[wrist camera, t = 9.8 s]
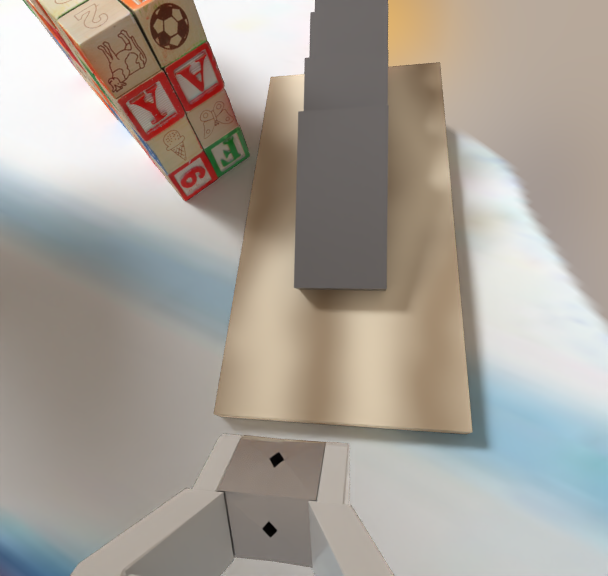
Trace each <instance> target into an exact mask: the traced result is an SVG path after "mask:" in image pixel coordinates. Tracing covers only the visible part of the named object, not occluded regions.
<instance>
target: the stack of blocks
mask: <svg viewBox="0 0 608 576" xmlns="http://www.w3.org/2000/svg"><path fill="white" fill-rule="evenodd" d="M23 1H24V3H25V4H26V5H27V6H28V8H29V9H30V10H31V11H32V12H33V13H34V15H35V16H36V17H37V18H38V19H39V21H40V22H41V23H42V25H43V26H44V27H45V29H46V30H47V31H48V33H49V34H50V35H51V37H52V38H53V39H54V41H55V42H56V43H57V45H58V46H59V47H60V48H61V50H62V51H63V52H64V53H65V54H66V56H67V57H68V59H69V60H70V61H71V63H72V64H73V65H74V67H75V68H76V69H77V71H78V72H79V73H80V75H81V76H82V77H83V78H84V79H85V81H86V82H87V83H88V85H89V86H90V87H91V89H92V90H93V91H94V92H95V93H96V95H97V96H98V97H99V98H100V99H101V100H102V102H103V103H104V104H105V105H106V107H107V108H108V109H109V110H110V111H111V113H112V114H113V115H114V116H115V117H116V119H117V120H119V121H120V122H121V123H122V124H123V126H124V127H125V128H126V129H127V130H128V132H129V133H130V134H131V135H132V136H133V137H134V139H135V140H136V141H137V142H138V143H139V145H140V146H141V147H142V148H143V149H144V151H145V152H146V153H147V155H148V156H149V158H150V159H151V160H152V161H153V163H154V164H155V165H156V166H157V167H158V169H159V170H160V171H161V172H162V174H163V175H164V176H165V178H166V179H167V180H168V182H169V183H170V184H171V185H172V186H173V188H174V189H175V190H176V191H177V193H178V194H179V195H180V196H181V197H182V199H183V200H184V201H187V200H189V199H190V198H191V197H193V196H194V195H196V194H197V193H199V192H200V191H201V190H203V189H204V188H206V187H207V186H208V185H210V184H211V183H213V182H214V181H215V180H217V179H218V178H219V177H220V176H222V175H223V174H224V173H226V172H227V171H229V170H230V169H232V168H233V167H235V166H236V165H237V164H239V163H240V162H242V161H243V160H244V159H246V158H247V157H249V156H250V153H249V151H248V148H247V145H246V142H245V139H244V136H243V133H242V130H241V127H240V125H239V124H238V123H237V120H236V118H235V115H234V112H233V109H232V106H231V103H230V100H229V98H228V96H227V93H226V91H225V89H224V81H223V79H222V76H221V73H220V71H219V68H218V65H217V63H216V60H215V57H214V55H213V52H212V49H211V47H210V44H209V42H208V41H207V38H206V35H205V32H204V29H203V27H202V24H201V21H200V18H199V15H198V12H197V9H196V7H195V4H194V1H193V0H23Z"/></svg>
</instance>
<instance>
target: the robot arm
mask: <svg viewBox="0 0 608 576" xmlns="http://www.w3.org/2000/svg"><path fill="white" fill-rule="evenodd" d="M234 557H237V558H247V559H257V560H267V561H276V562H282V563H288V564H294V565H300V566H306V567H312V568H313V572H314V574H315V576H394V574H393V572H392V571H391V569H390V568H389V566H388V564H387V563H386V561H385V559H384V558H383V556H382V555H381V553H380V551H379V550H378V548H377V546H376V545H375V543H374V541H373V540H372V538H371V537H370V535H369V533H368V532H367V530H366V528H365V527H364V525H363V523H362V522H361V520H360V519H359V517H358V515H357V514H356V512H355V510H354V509H353V507H352V506H351V505H350V448H349V444H348V443H339V442H318V441H303V440H289V439H285V440H284V439H277V438H267V437H257V436H247V435H244V436H242V435H233V434H222V435H221V436H220V437H219V438H218V440H217V442H216V444H215V446H214V448H213V449H212V451H211V453H210V455H209V457H208V459H207V461H206V463H205V465H204V467H203V469H202V471H201V473H200V475H199V476H198V478H197V480H196V482H195V484H194V486H193V488H192V489H188V488H185V489H184V490H183V491H181V492H180V493H178V494H177V495H176V496H174V497H173V498H171V499H170V500H168V501H167V502H166V503H164V504H163V505H161V506H160V507H158V508H157V509H156V510H154V511H153V512H151V513H150V514H149V515H147V516H146V517H144V518H143V519H141V520H140V521H139V522H137V523H136V524H134V525H133V526H131V527H130V528H129V529H127V530H126V531H124V532H123V533H121V534H120V535H119V536H117V537H116V538H114V539H113V540H112V541H110V542H109V543H107V544H106V545H104V546H103V547H102V548H100V549H99V550H97V551H96V552H94V553H93V554H92V555H90V556H89V557H87V558H86V559H84V560H83V561H82V562H80V563H79V564H78V565H77V566H76V568H75V569H74V571H73V572H72V574H71V575H70V576H220V575H221V574H222V573H223V572H224V571H225V570H226V568H227V567H228V566H229V565H230V564H231V563H232V562H233V561H234Z"/></svg>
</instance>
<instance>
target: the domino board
mask: <svg viewBox="0 0 608 576" xmlns="http://www.w3.org/2000/svg"><path fill="white" fill-rule="evenodd" d="M388 105H389V108H388V206H387V289H386V291H370V290H299V289H296V288H294V263H295V223H296V182H297V142H298V112H299V111H304V74H301V75H289V76H278V77H271V78H270V84H269V90H268V96H267V102H266V108H265V114H264V120H263V125H262V131H261V137H260V143H259V149H258V155H257V161H256V167H255V173H254V179H253V184H252V190H251V196H250V202H249V208H248V214H247V220H246V226H245V232H244V238H243V244H242V249H241V255H240V261H239V267H238V273H237V279H236V285H235V291H234V297H233V303H232V308H231V314H230V320H229V326H228V332H227V338H226V344H225V350H224V356H223V362H222V367H221V373H220V379H219V385H218V391H217V397H216V403H215V409H214V414H215V415H218V416H220V417H230V418H244V419H258V420H272V421H287V422H301V423H315V424H329V425H343V426H357V427H371V428H385V429H399V430H413V431H427V432H441V433H455V434H469V433H472V421H471V410H470V398H469V387H468V375H467V364H466V353H465V341H464V330H463V318H462V307H461V296H460V284H459V273H458V261H457V250H456V238H455V227H454V216H453V204H452V193H451V181H450V170H449V159H448V147H447V136H446V124H445V113H444V103H443V90H442V79H441V68H440V63H428V64H416V65H405V66H393V67H388Z"/></svg>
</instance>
